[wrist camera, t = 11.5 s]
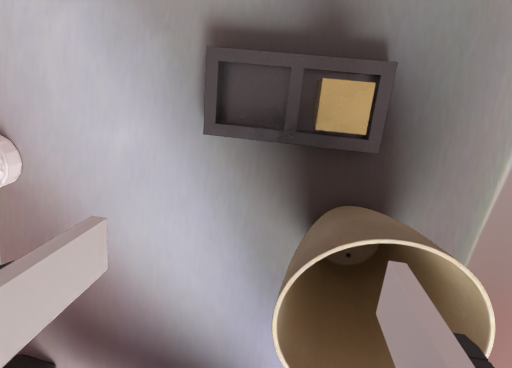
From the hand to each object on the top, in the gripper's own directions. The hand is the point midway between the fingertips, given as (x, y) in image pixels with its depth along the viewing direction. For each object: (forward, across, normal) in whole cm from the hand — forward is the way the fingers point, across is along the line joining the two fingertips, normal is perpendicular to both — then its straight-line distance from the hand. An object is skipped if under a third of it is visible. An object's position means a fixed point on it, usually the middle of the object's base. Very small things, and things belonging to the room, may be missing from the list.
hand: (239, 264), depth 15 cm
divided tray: (+22, -1, -7) cm, 23 cm away
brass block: (+22, -6, -8) cm, 24 cm away
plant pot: (+23, -10, +7) cm, 26 cm away
